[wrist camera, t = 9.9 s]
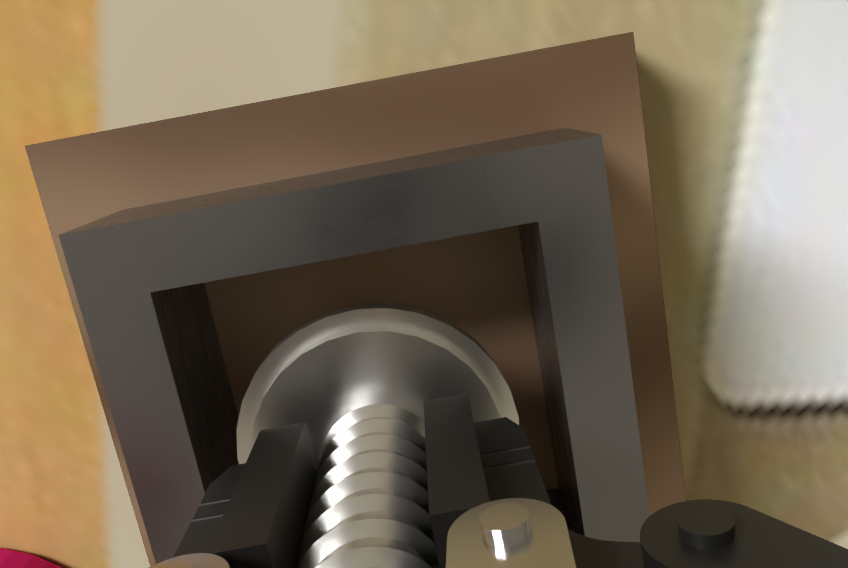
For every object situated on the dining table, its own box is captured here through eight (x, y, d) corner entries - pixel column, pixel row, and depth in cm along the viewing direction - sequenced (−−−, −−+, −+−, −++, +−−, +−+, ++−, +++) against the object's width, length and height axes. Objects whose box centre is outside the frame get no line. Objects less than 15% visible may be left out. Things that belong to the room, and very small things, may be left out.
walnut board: (58, 141, 17) (24, 146, 15) (612, 37, 16) (633, 31, 15) (196, 621, 19) (179, 663, 18) (672, 538, 19) (694, 574, 18)
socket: (123, 209, 16) (58, 234, 13) (564, 127, 15) (601, 134, 12) (229, 594, 18) (194, 692, 15) (618, 526, 17) (661, 613, 14)
